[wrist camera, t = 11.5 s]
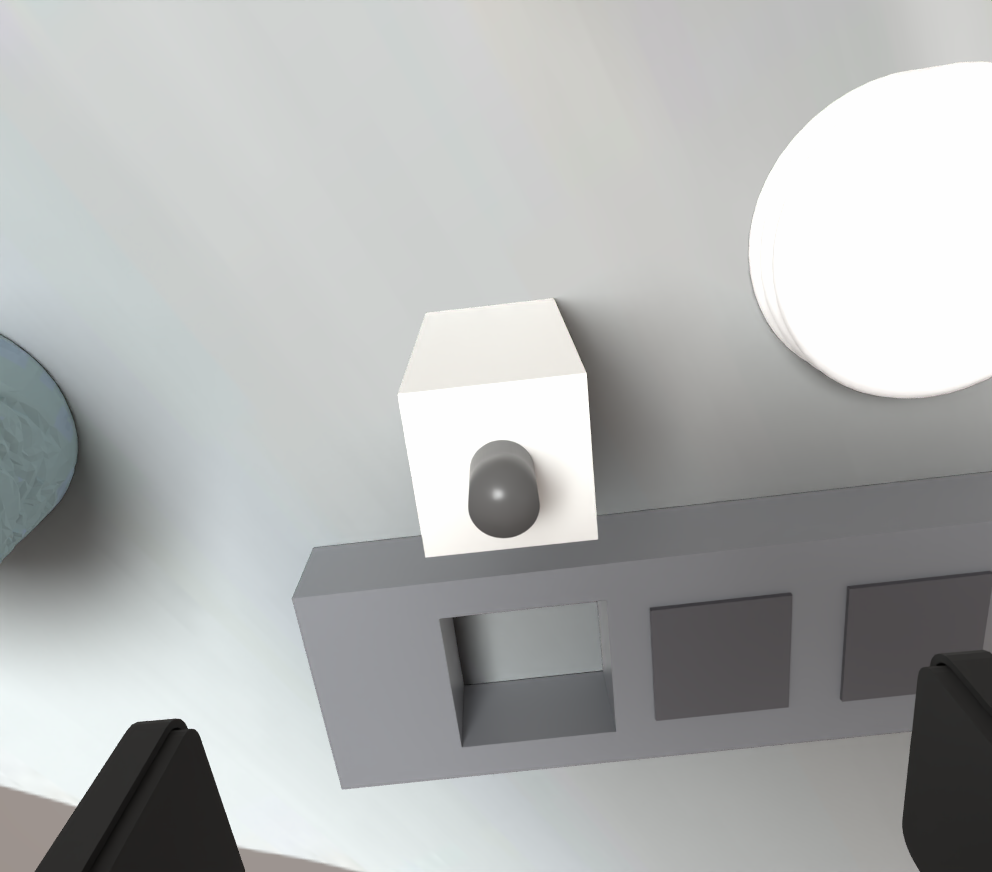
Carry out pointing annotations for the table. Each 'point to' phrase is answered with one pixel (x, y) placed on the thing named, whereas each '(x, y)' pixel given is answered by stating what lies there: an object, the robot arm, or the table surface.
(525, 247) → the table surface
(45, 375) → the blue-grey tapered cup
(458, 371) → the charger
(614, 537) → the power strip
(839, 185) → the coaster
